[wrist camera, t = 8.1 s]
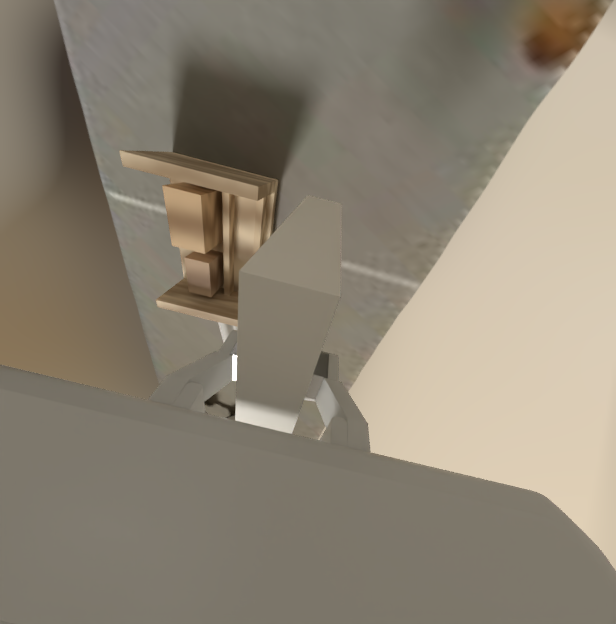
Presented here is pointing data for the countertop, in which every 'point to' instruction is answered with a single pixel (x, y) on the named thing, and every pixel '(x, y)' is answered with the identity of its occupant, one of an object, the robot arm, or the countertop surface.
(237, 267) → the offcut rack
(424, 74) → the countertop surface
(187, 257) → the walnut offcut
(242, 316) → the white square panel
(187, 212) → the oak offcut
